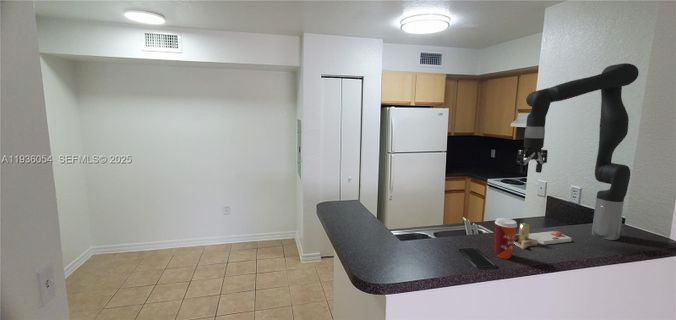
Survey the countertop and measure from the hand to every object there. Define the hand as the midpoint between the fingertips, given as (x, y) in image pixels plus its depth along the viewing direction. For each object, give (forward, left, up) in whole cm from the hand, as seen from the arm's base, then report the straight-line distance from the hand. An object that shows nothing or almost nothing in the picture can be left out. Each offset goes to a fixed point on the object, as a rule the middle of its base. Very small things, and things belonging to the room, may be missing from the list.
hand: (530, 172), depth 140 cm
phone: (+40, +18, -29) cm, 52 cm away
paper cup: (+28, +18, -28) cm, 44 cm away
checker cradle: (-1, +11, -28) cm, 30 cm away
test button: (-6, +11, -28) cm, 30 cm away
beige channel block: (+12, +11, -28) cm, 32 cm away
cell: (+12, +11, -28) cm, 32 cm away
